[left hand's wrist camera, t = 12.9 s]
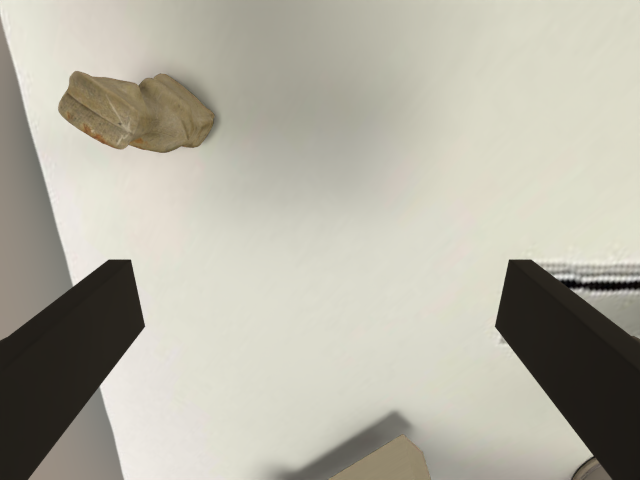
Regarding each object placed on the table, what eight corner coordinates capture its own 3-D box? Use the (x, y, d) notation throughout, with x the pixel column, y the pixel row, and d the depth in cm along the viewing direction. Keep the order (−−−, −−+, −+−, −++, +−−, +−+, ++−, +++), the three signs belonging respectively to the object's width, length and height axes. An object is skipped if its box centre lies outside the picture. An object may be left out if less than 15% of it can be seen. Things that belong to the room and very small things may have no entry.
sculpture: (170, 63, 36) (75, 41, 22) (229, 112, 38) (176, 121, 24) (140, 110, 38) (35, 117, 24) (198, 155, 39) (132, 187, 26)
